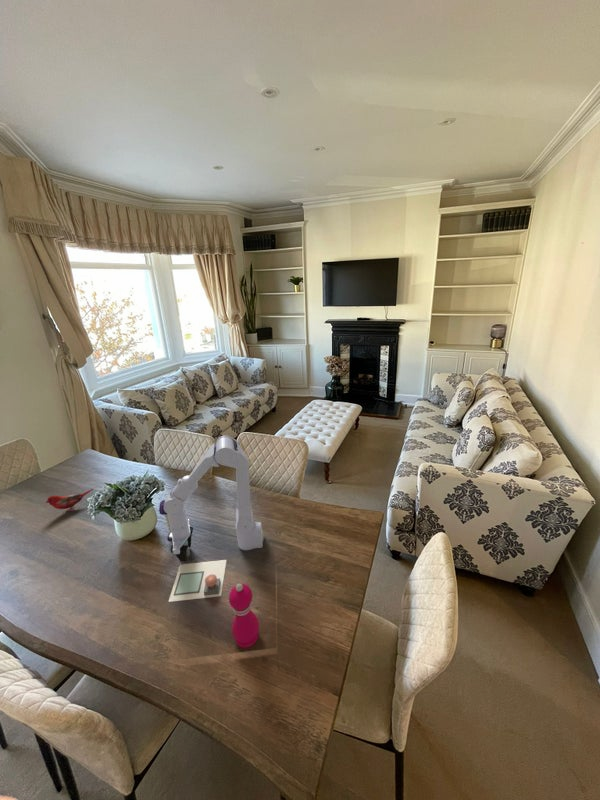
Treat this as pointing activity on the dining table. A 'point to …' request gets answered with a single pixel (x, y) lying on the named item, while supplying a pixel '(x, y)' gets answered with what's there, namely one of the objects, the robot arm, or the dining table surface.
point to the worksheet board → (197, 580)
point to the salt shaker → (187, 548)
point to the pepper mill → (243, 616)
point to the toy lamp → (161, 510)
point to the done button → (211, 580)
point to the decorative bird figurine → (66, 501)
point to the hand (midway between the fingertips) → (185, 553)
